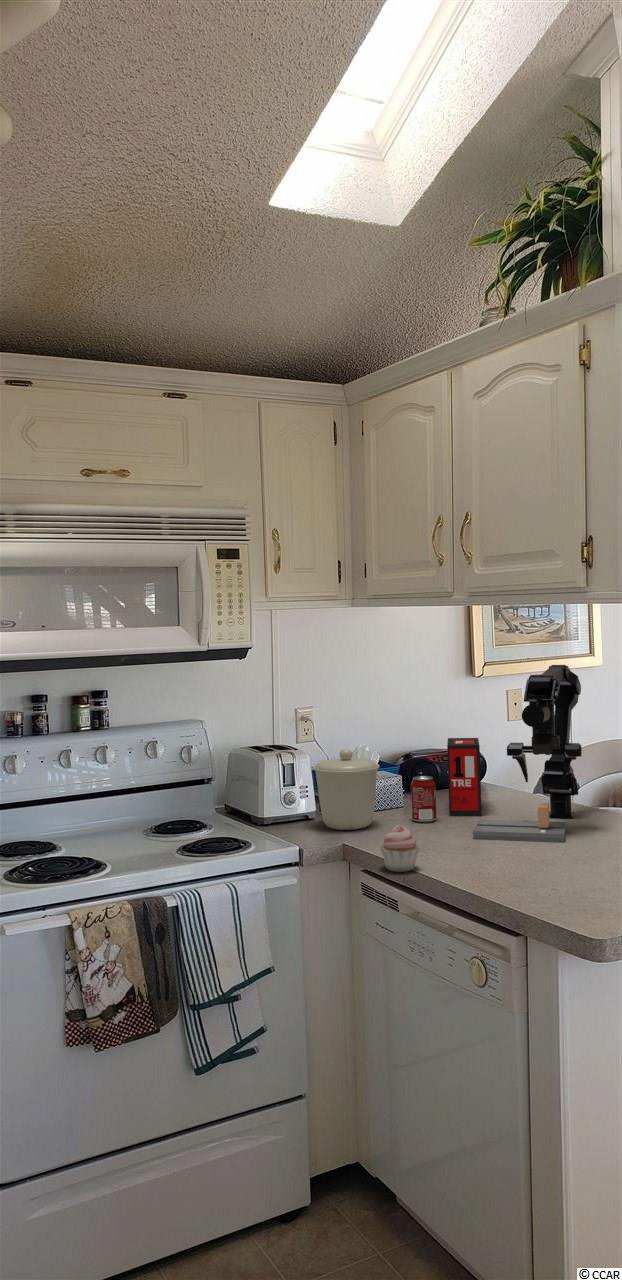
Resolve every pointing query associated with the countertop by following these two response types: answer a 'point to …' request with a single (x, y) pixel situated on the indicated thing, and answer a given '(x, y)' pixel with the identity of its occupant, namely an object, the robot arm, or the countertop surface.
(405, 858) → the cupcake
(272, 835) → the countertop surface
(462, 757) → the cleaning product box
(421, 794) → the soda can
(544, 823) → the tan rectangular block
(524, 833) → the console
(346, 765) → the canister
